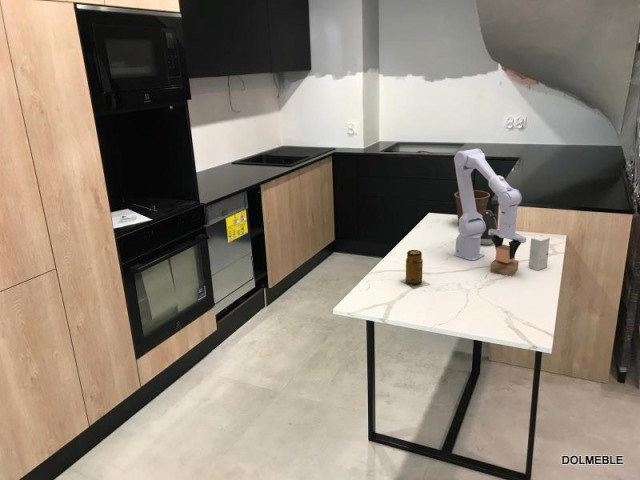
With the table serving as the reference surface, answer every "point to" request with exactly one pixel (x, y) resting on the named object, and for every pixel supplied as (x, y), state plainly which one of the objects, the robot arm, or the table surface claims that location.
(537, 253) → the skincare box
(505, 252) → the terracotta cube
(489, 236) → the dark grey rounded figure
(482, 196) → the plant pot
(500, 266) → the walnut block
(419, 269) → the condiment
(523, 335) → the table surface
